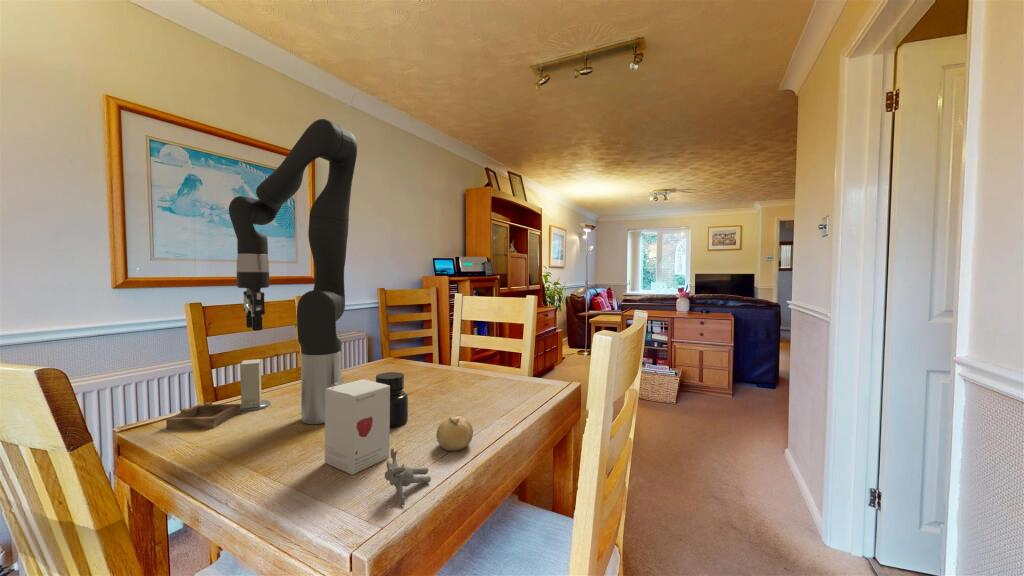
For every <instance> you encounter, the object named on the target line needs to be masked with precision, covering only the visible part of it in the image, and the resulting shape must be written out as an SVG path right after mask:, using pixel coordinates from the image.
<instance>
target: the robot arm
mask: <svg viewBox="0 0 1024 576" xmlns="http://www.w3.org/2000/svg"><path fill="white" fill-rule="evenodd" d="M357 142H358V141H357V139H356V136H355V134H353V133H352V132H351V131H349V130H347V129H346V128H344V127H342V126H340V125H338V124H336V123H335V122H332V121H331V120H328V119H325V118H319V119H316V120H315V121H313V122H312V123H311V124H310V125H309V126H308V127H307V128H306V129H305V130H304V132H302V135H301V136H300V137H299V138H298V139H297V142H296V143H295V144H294V145H293V147H292V148H291V149H290V151H289V153H288V154H287V155H286V156H285V158H284V159H283V161H282V162H281V163H280V165H278V167H277V168H276V169H275V170H274V171H273V172H272V173H271V174H269V175H268V177H266V178H265V179H264V180H263V181H261V182H260V184H259V185H258V186H257V187H256V189H255V193H256V197H257V198H258V199H257V198H254V197H248V196H243V195H238V196H236V197H234V198H233V199H232V200H231V201H230V203H229V207H228V215H229V218H230V220H231V224H232V227H233V231H234V234H235V237H236V240H237V241H236V242H237V243H236V245H237V246H236V247H237V248H236V249H237V254H236V255H237V256H236V287H237V288H238V289H246V290H243V293H242V294H243V309H242V311H243V312H244V315H245V327H246V328H249V329H251V328H252V331H254V332H256V331H257V332H258V331H259V332H260V331H262V330H263V316H264V315H265V313H266V311H265V309H266V308H265V292H262V291H261V289H263V288H264V289H267V288H270V260H269V246H268V245H269V244H268V242H269V241H268V237H267V235H265V234H264V233H261V232H259V231H257V230H256V229H255V226H254V225H257V226H265V225H268V224H270V223H272V222H273V221H274V220H275V219H276V217H277V215H278V213H279V212H280V210H281V208H282V206H283V205H284V204H285V203H286V202H288V200H290V199H291V198H292V197H293V196H294V195H295V194H296V193H297V192H298V191H299V189H300V187H301V185H302V183H303V178H304V172H305V170H306V169H307V166H309V164H311V163H312V162H313V161H315V160H317V159H319V158H321V159H322V160H325V161H328V163H329V164H328V165H329V166H328V167H329V168H328V176H327V181H326V184H325V187H323V189H322V191H321V192H320V193H319V195H318V196H317V197H316V199H315V201H314V202H313V203H312V206H311V208H310V209H309V216H308V217H309V218H308V233H307V236H308V243H309V247H310V248H309V249H310V252H311V256H312V260H313V263H314V270H315V271H314V283H313V290H308V291H307V292H305V293H303V294H302V296H301V297H300V298H299V299H298V302H297V306H296V331H297V340H298V341H297V342H298V343H299V346H300V349H301V350H300V354H301V355H300V358H301V359H300V360H301V361H300V362H301V363H300V364H301V365H300V369H301V370H300V371H301V374H300V375H301V377H300V379H301V380H300V382H301V383H300V387H301V390H300V391H301V393H300V394H301V395H300V397H301V402H300V404H301V406H300V407H301V409H300V415H301V420H300V421H301V423H303V424H308V425H319V424H325V389H326V388H330V387H334V386H338V385H342V384H345V379H344V378H343V377H342V341H341V339H340V338H338V335H337V321H338V320H339V319H340V318H341V317H342V316H343V315H344V313H345V308H346V293H345V267H346V266H345V265H346V256H347V248H348V247H347V245H348V237H349V236H348V235H349V226H350V225H349V223H350V222H349V219H350V205H351V203H350V202H351V194H352V185H353V178H354V174H355V173H354V172H355V168H356V163H357V156H358V155H357V154H358V143H357Z"/></svg>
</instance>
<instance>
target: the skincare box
mask: <svg viewBox="0 0 1024 576" xmlns="http://www.w3.org/2000/svg"><path fill="white" fill-rule="evenodd" d="M261 361H262V359H261V358H258V359H248V360H242V361H241V363H240V366H239V367H240V400H241V401H240V402H241V403H240V404H241V409H243V408H252V407H258V406H260V404H261V401H262V400H263V399H262V367H261V366H262V363H261Z"/></svg>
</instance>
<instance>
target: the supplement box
mask: <svg viewBox="0 0 1024 576" xmlns="http://www.w3.org/2000/svg"><path fill="white" fill-rule="evenodd" d="M390 429H391V428H390V385H386V384H382V383H377V382H376V381H372V380H368V379H365V378H364V379H359V380H355V381H352V382H347V383H345V382H344V384H342V385H338V386H334V387H330V388H326V389H325V423H324V463H325V464H327V465H329V466H332V467H334V468H335V469H338V470H340V471H342V472H345V473H347V474H349V475H351V476H352V475H355V474H357V473H359V472H362V471H363V470H366V469H368V468H370V467H371V466H373V465H376V464H377V463H378V464H379V463H381V462H382V461H385V460H386V459H389V458H390Z"/></svg>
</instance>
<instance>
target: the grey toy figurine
mask: <svg viewBox="0 0 1024 576" xmlns="http://www.w3.org/2000/svg"><path fill="white" fill-rule="evenodd" d="M389 453H390V458H391V459H392V463H391V462H390V461H389V460H387V461H386V469H387V470H386V471H385V472H384V479H385V481H389V484H390V486H392V487H393V486H394V487H395V490H396V492H397V494H398V502H399V503H400V506H401V505H404V506H405V505H406V503H405V499H408V497H407V496H404V491H403V489H404V488H403V487H408V486H410V485H412V484H419V483H421V484H428V483H427V482H429V483H430V482H431V481H432V476H431V475H428V476H426V475H427V474H428V473H429V471H430V470H429V467H418V468H417V467H409V466H405V463H404V462H403V463H402V465H400V466H399V463H398V462H397V454H398V450H395V449H394V448H390V450H389ZM415 475H419V476H415Z"/></svg>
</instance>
